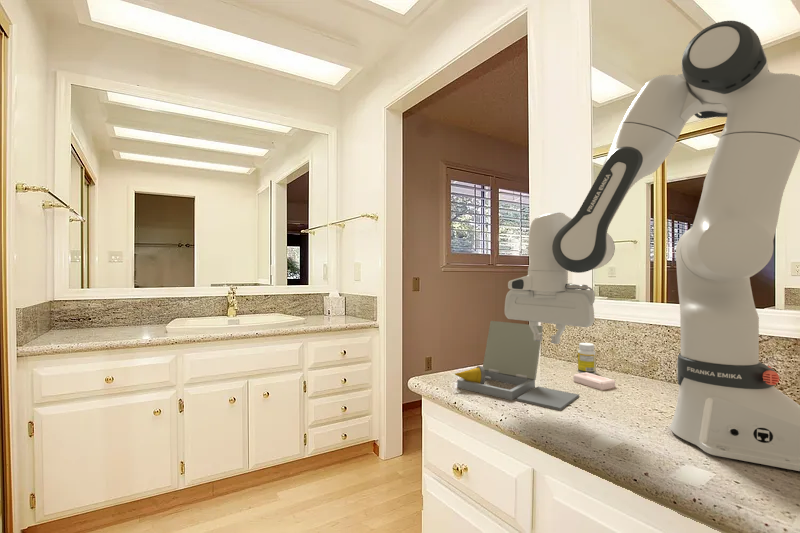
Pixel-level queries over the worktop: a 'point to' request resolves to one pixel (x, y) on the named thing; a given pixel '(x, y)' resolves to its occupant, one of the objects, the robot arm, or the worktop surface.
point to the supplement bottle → (586, 358)
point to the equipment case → (508, 360)
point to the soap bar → (594, 381)
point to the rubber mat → (548, 398)
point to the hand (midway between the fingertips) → (546, 342)
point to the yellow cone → (474, 375)
